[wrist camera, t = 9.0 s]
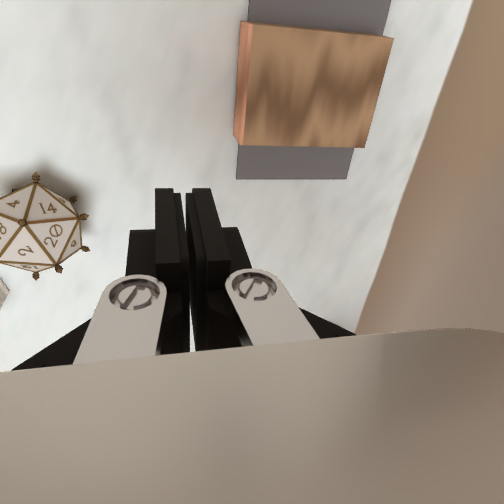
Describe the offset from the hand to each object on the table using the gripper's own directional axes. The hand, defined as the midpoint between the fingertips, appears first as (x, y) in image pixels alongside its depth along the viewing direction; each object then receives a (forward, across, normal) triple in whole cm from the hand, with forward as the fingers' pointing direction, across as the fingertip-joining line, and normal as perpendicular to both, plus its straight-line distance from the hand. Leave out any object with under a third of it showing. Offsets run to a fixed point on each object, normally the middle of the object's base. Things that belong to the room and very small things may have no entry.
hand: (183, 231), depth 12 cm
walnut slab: (+22, -6, -1) cm, 23 cm away
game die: (+25, +11, +11) cm, 29 cm away
